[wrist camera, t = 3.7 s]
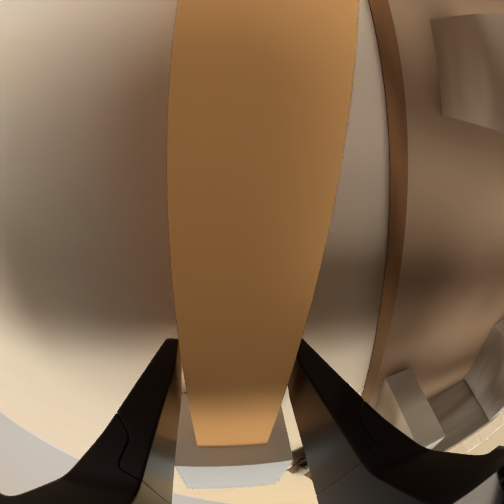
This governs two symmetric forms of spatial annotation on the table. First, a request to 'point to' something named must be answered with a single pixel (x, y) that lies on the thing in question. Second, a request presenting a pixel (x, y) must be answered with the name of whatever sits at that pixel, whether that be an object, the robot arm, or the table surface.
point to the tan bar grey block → (250, 215)
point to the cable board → (442, 220)
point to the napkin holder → (483, 433)
